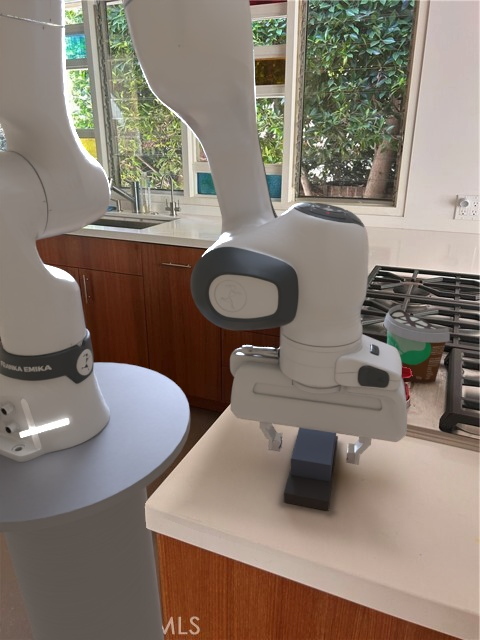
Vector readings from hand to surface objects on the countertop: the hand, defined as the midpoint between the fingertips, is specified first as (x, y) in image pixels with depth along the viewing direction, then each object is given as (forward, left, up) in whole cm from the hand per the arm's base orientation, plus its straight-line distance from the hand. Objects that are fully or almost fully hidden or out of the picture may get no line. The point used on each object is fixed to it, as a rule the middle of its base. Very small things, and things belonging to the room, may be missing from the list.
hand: (313, 454), depth 57 cm
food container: (+12, +28, -2) cm, 30 cm away
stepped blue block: (0, -1, -2) cm, 2 cm away
